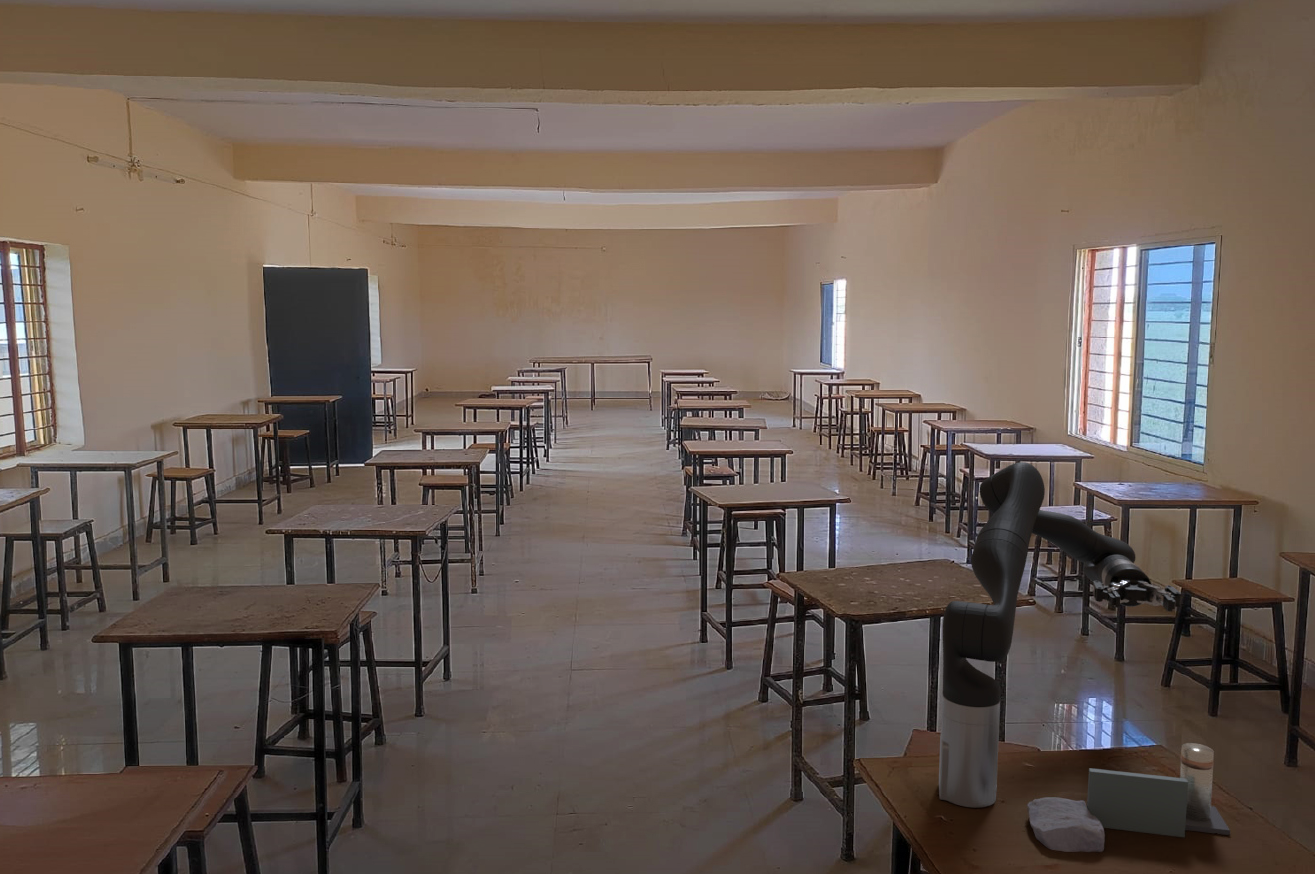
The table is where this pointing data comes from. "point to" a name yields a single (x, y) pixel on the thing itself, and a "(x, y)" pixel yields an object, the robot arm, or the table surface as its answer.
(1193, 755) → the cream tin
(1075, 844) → the stone block
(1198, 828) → the dark rubber mat
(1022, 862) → the table surface
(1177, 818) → the slate screen
